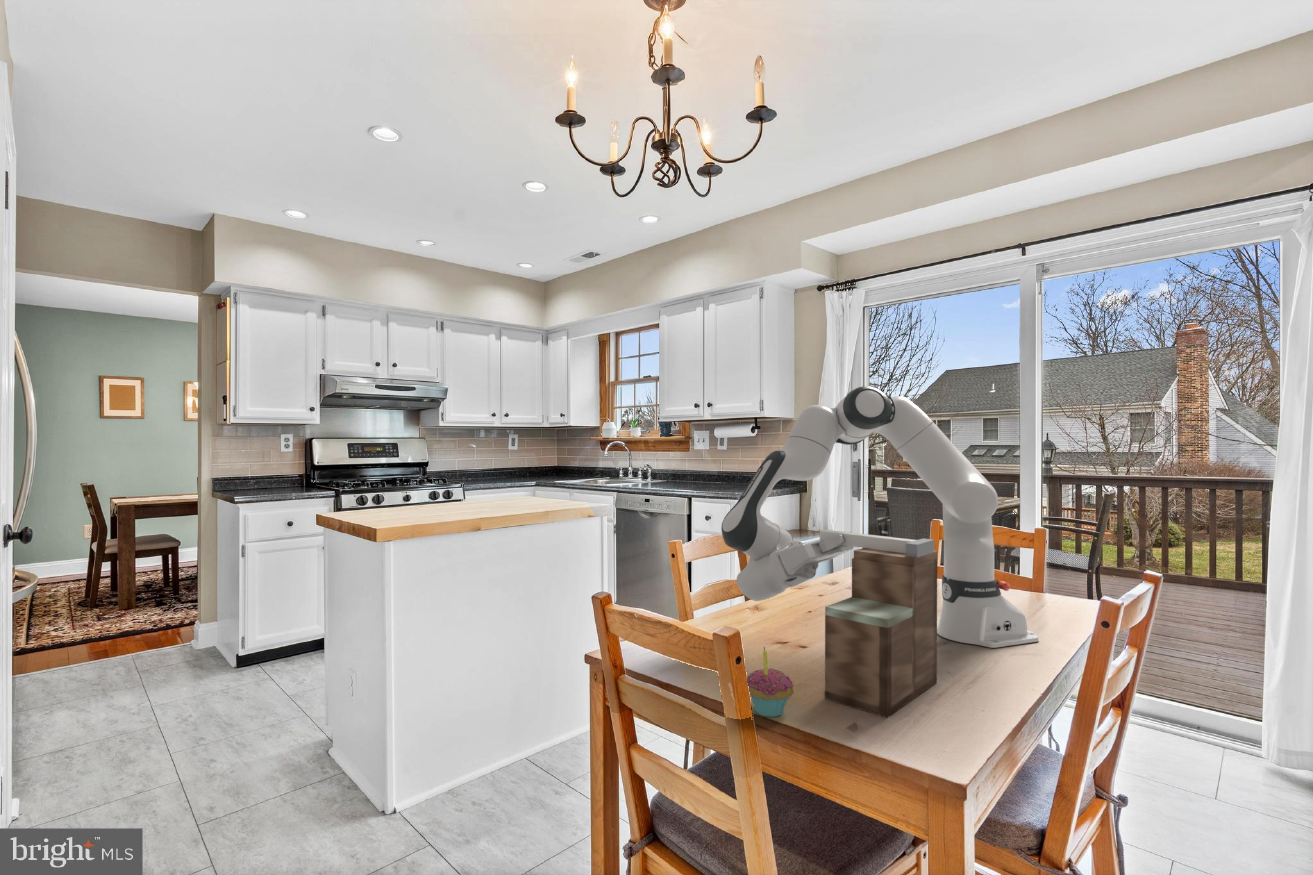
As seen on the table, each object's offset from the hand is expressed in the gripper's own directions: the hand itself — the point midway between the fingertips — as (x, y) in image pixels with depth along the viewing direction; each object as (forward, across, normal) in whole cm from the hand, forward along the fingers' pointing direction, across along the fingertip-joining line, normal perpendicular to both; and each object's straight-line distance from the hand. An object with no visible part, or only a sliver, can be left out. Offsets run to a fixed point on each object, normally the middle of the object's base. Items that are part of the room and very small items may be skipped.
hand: (847, 536), depth 137 cm
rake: (+3, 0, -4) cm, 5 cm away
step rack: (-5, +6, -29) cm, 30 cm away
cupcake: (-14, +28, -24) cm, 40 cm away
